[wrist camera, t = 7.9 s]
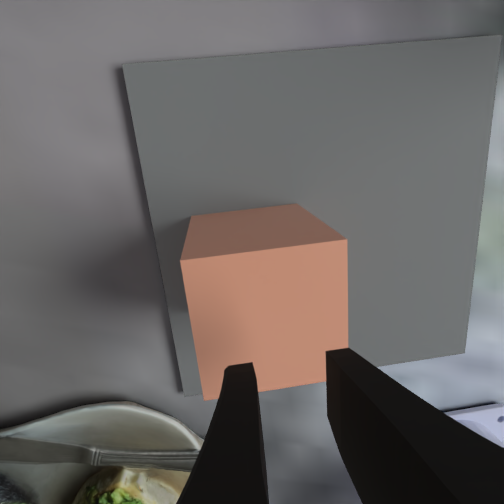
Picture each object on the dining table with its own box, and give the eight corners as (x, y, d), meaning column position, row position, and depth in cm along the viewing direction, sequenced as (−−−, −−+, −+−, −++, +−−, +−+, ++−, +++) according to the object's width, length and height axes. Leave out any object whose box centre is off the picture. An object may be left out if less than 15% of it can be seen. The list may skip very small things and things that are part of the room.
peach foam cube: (302, 298, 19) (348, 377, 12) (206, 312, 18) (203, 400, 12) (297, 203, 17) (347, 239, 11) (191, 215, 17) (180, 260, 10)
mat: (460, 349, 21) (464, 353, 21) (184, 392, 20) (184, 396, 20) (495, 37, 16) (502, 34, 16) (124, 66, 15) (121, 64, 14)
